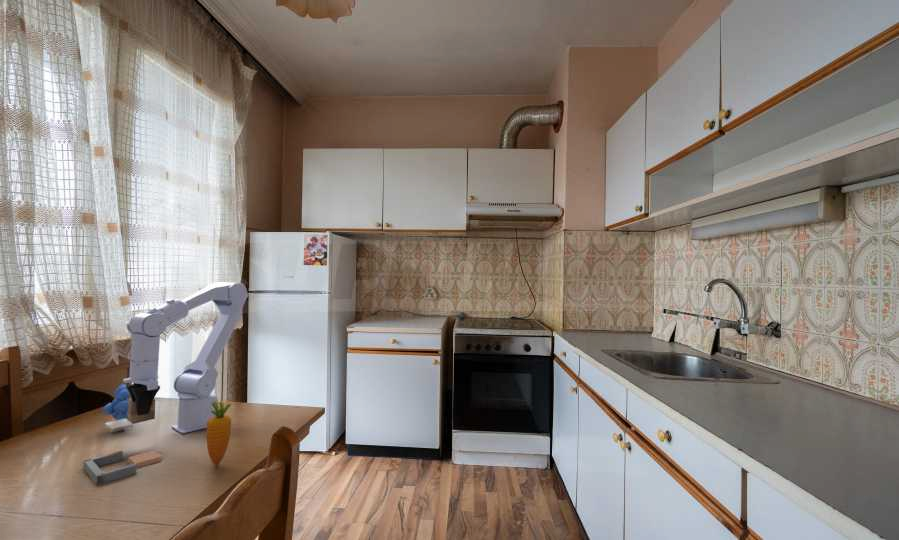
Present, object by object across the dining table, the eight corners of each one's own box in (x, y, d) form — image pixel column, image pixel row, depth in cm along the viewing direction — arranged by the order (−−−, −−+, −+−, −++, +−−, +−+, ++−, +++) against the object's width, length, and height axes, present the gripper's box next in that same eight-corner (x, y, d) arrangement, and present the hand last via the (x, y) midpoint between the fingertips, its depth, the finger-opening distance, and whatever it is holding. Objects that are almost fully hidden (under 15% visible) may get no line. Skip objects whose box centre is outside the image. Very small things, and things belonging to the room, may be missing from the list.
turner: (149, 415, 103) (149, 396, 103) (157, 420, 99) (157, 400, 99) (105, 425, 96) (105, 405, 96) (111, 431, 92) (112, 410, 92)
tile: (153, 456, 94) (154, 450, 94) (160, 462, 91) (161, 456, 91) (127, 463, 90) (128, 457, 90) (134, 470, 87) (135, 463, 87)
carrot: (233, 463, 91) (237, 399, 92) (214, 472, 87) (218, 405, 87) (218, 459, 93) (221, 396, 93) (198, 468, 88) (202, 402, 89)
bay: (121, 458, 92) (121, 450, 92) (136, 473, 85) (136, 464, 85) (83, 468, 86) (83, 460, 86) (96, 485, 80) (97, 476, 80)
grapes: (98, 425, 111) (101, 383, 111) (128, 420, 116) (131, 380, 116) (102, 438, 103) (105, 392, 103) (134, 431, 108) (137, 388, 108)
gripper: (116, 357, 101) (113, 410, 100) (134, 366, 92) (130, 423, 91) (149, 354, 106) (146, 404, 106) (169, 362, 98) (165, 416, 97)
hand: (141, 412), depth 99 cm, fingers closed on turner, 2 cm apart
